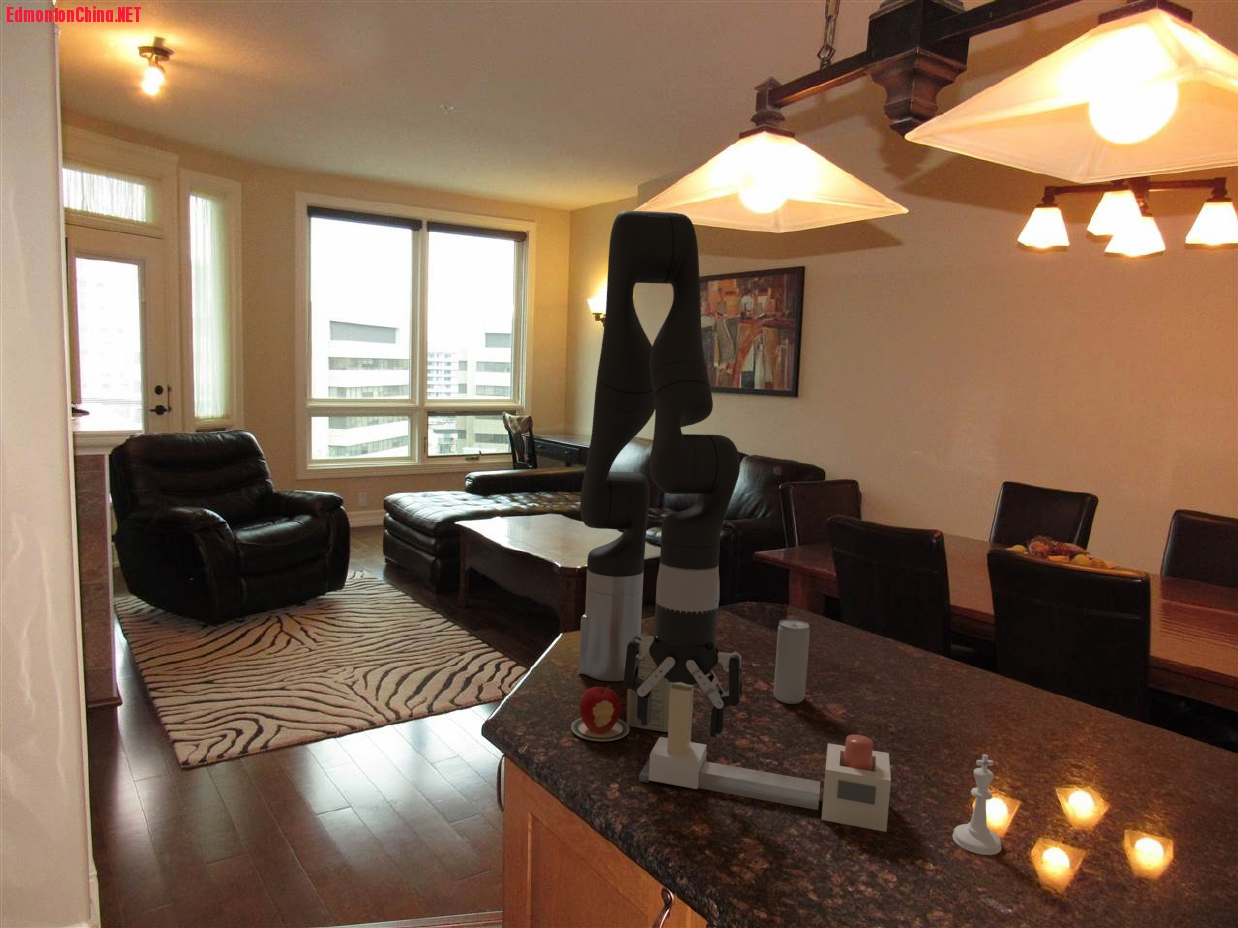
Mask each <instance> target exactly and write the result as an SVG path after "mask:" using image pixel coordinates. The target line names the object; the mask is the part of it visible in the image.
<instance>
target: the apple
mask: <svg viewBox="0 0 1238 928" xmlns="http://www.w3.org/2000/svg"><path fill="white" fill-rule="evenodd" d="M611 688H612V685H608V686H606V687H604V686H592V687H590V688H588V689H586V691H585V692H584V693H583V695H582V697H581V700H580V702H579V714H580V718H578V719H576V720H574V721H573V722H572V723H571V731H572V733H573V734H575V735H576V736H577V737H579V738H582V739H585V740H589V741H594V742H611V741H616V740H619V739H622V738H624V737H625V736H627V735H628V734H629V732H630V726H628V724H627V721H624V720H622V719H621V718H620V717H621V713H622V704H621V701H620V698H619V696H618V695H617V693H616V692H615V690H612V689H611Z"/></svg>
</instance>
